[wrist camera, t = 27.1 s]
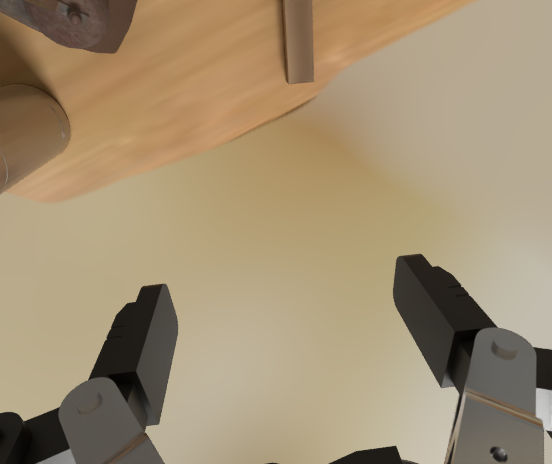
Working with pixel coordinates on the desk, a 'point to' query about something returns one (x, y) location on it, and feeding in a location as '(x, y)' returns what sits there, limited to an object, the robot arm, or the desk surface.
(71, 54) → the desk surface
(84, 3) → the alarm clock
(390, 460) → the robot arm
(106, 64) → the desk surface
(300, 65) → the mallet
